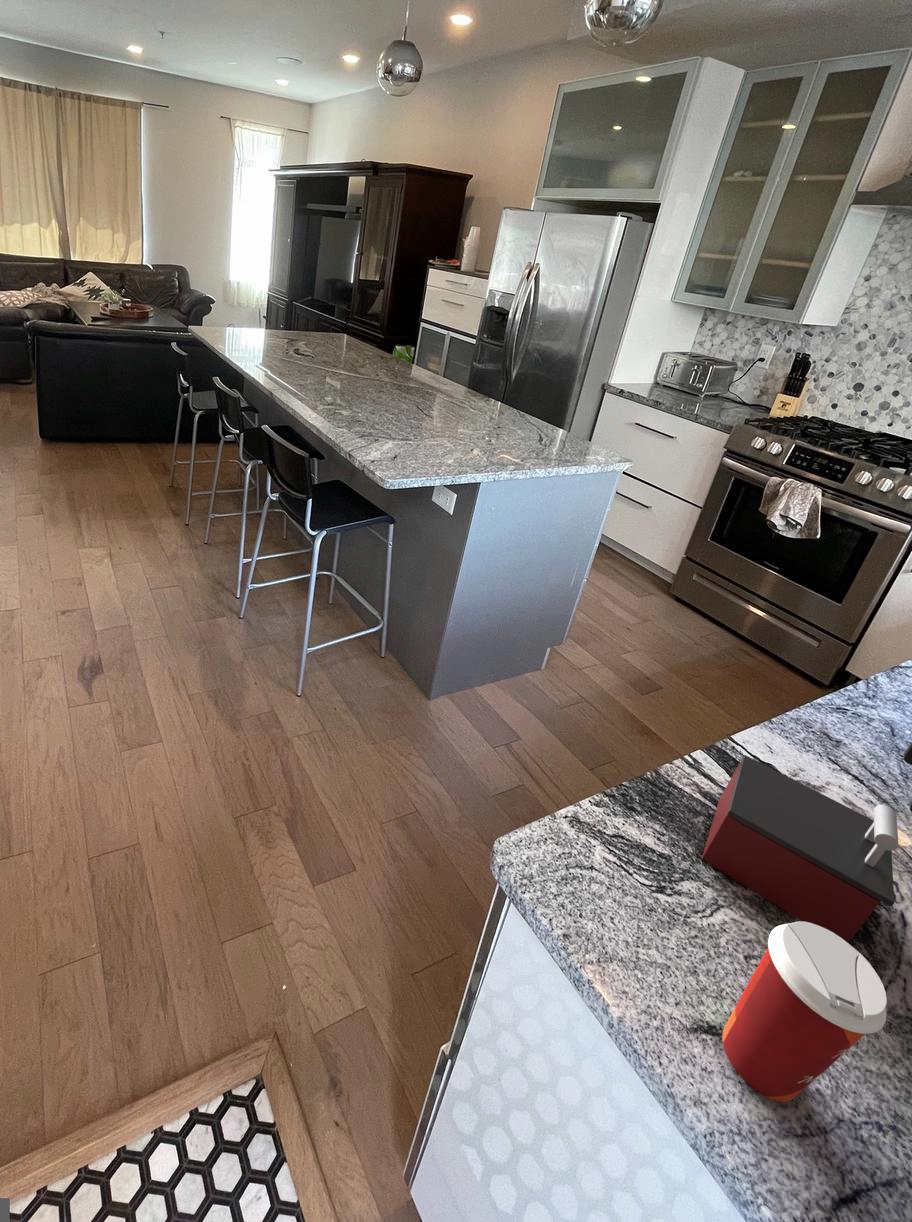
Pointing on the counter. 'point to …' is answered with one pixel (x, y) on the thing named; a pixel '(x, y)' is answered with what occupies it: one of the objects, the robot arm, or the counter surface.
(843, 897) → the box
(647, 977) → the counter surface
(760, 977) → the paper cup
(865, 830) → the lid
